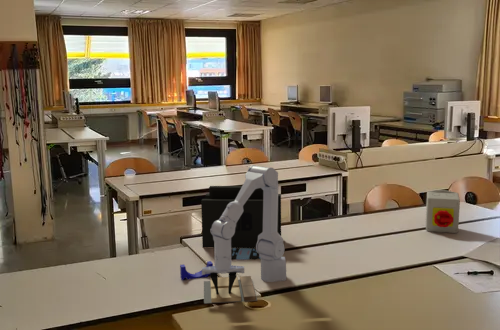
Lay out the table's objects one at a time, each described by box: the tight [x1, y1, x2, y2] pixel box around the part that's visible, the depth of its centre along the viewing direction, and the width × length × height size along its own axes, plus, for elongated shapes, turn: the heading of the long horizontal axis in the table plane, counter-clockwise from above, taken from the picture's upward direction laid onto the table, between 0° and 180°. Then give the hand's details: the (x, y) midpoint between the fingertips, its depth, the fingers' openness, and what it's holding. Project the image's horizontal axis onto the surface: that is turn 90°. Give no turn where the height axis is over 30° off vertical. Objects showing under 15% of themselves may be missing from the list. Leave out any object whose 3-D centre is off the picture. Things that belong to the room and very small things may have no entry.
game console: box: [200, 185, 282, 261], centre depth 237 cm, size 35×30×27 cm
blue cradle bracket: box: [179, 260, 214, 281], centre depth 203 cm, size 12×4×6 cm, turn 108°
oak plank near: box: [211, 287, 241, 303], centre depth 184 cm, size 10×8×1 cm
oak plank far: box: [209, 276, 239, 289], centre depth 194 cm, size 10×8×1 cm
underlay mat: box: [203, 279, 258, 304], centre depth 189 cm, size 18×20×1 cm
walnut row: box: [239, 275, 257, 302], centre depth 190 cm, size 4×19×1 cm, turn 5°
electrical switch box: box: [425, 189, 461, 234], centre depth 258 cm, size 15×15×20 cm
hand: (223, 293), depth 183 cm, fingers closed on oak plank near, 3 cm apart
